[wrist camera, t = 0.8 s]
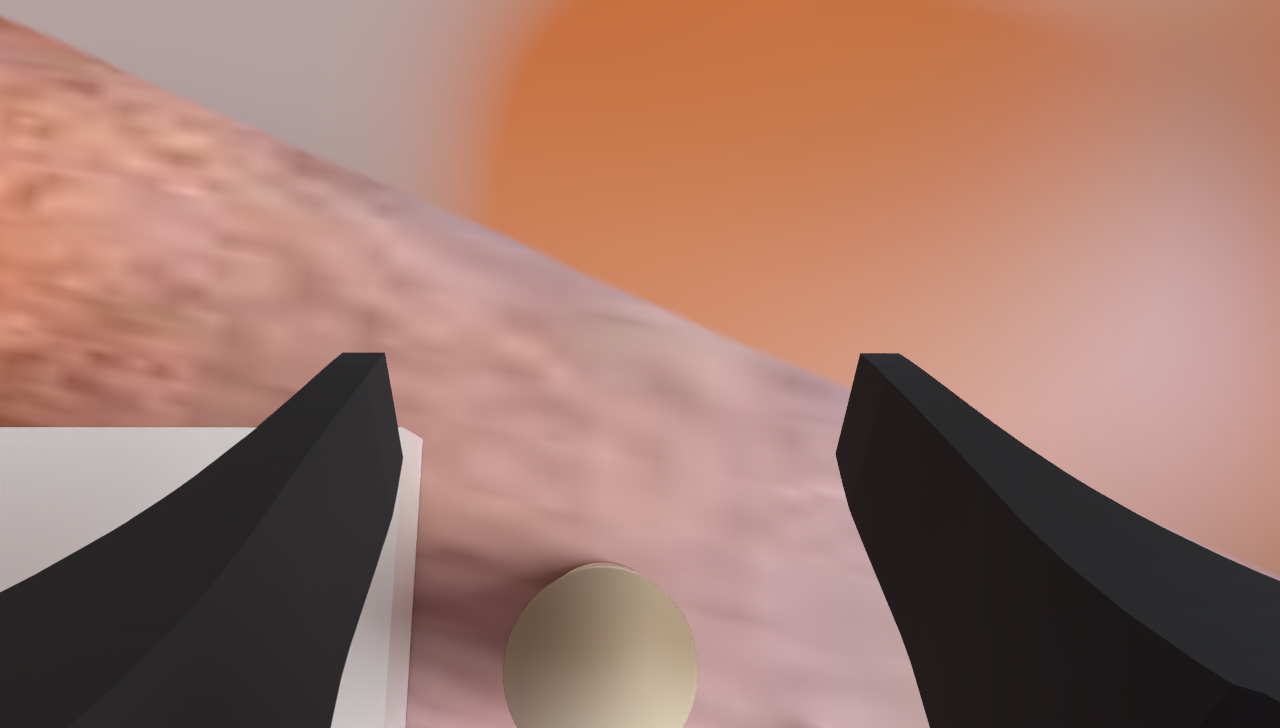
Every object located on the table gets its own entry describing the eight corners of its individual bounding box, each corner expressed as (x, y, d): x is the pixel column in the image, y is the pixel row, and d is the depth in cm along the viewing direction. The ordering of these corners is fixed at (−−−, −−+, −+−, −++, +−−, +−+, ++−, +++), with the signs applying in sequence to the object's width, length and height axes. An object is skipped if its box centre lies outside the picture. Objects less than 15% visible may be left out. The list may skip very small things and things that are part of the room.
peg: (665, 693, 24) (701, 774, 15) (537, 694, 24) (499, 778, 15) (663, 561, 25) (696, 567, 16) (540, 562, 25) (506, 568, 16)
